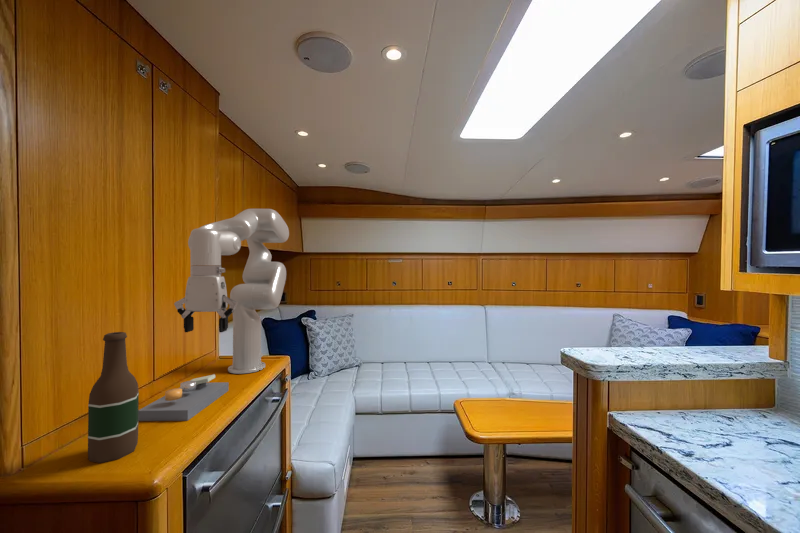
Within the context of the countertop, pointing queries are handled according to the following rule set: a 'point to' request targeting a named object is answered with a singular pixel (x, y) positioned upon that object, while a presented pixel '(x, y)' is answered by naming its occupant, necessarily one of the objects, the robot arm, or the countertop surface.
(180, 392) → the button orange
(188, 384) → the button metal
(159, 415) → the panel
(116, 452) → the beer bottle
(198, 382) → the block
